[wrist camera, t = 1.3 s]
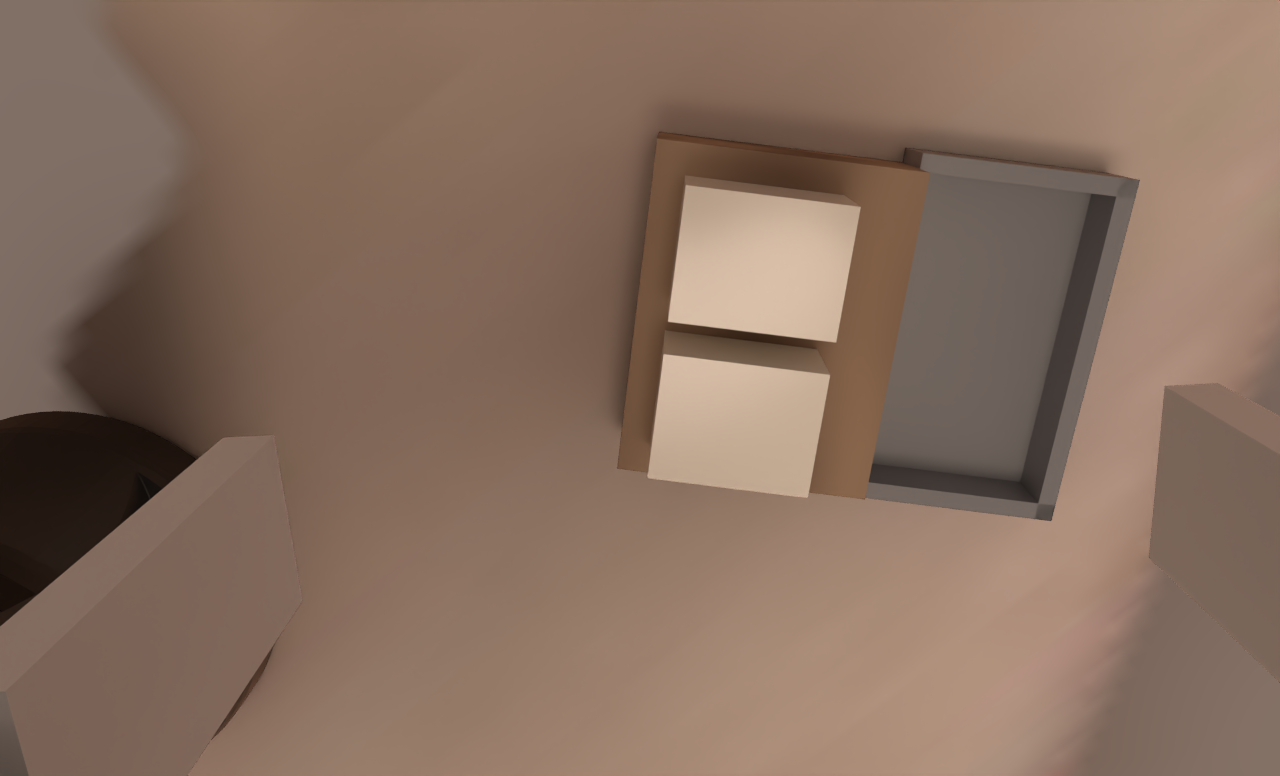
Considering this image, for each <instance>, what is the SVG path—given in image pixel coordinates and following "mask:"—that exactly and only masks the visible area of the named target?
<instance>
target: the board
mask: <svg viewBox="0 0 1280 776" xmlns="http://www.w3.org/2000/svg"><path fill="white" fill-rule="evenodd" d="M685 175H686V176H694V177H702V178H710V179H718V180H726V181H734V182H742V183H750V184H758V185H766V186H774V187H782V188H790V189H798V190H806V191H814V192H822V193H830V194H838V195H845V196H846V197H847V198H849V199H850V200H852V201H853V202H855V203H856V204H857V205H859V206H860V207H861V209H860V214H859V220H858V225H857V231H856V236H855V242H854V247H853V253H852V258H851V264H850V269H849V275H848V280H847V286H846V291H845V297H844V302H843V308H842V313H841V319H840V324H839V330H838V335H837V341H836V343H835V342H827V341H819V340H811V339H803V338H795V337H787V336H779V335H771V334H763V333H755V332H747V331H739V330H731V329H723V328H715V327H707V326H698V325H690V324H682V323H674V322H668V306H669V295H670V287H671V279H672V271H673V264H674V256H675V248H676V241H677V233H678V225H679V218H680V210H681V202H682V195H683V187H684V179H685ZM929 177H930V172H927V171H924V170H922V169H919V168H916V167H914V166H911V165H908V164H906V163H903V162H895V161H887V160H879V159H871V158H863V157H855V156H847V155H839V154H831V153H823V152H815V151H807V150H799V149H791V148H783V147H775V146H767V145H759V144H751V143H743V142H735V141H727V140H719V139H711V138H703V137H695V136H687V135H679V134H671V133H663V132H659V135H658V137H657V144H656V152H655V160H654V169H653V177H652V185H651V193H650V202H649V210H648V218H647V226H646V235H645V243H644V251H643V259H642V268H641V276H640V284H639V293H638V301H637V309H636V317H635V326H634V334H633V342H632V350H631V359H630V367H629V375H628V383H627V392H626V400H625V408H624V417H623V425H622V433H621V441H620V450H619V458H618V466H617V469H625V470H633V471H641V472H648V464H649V451H650V440H651V433H652V425H653V417H654V410H655V402H656V394H657V387H658V379H659V371H660V364H661V356H662V348H663V341H664V333H665V330H666V331H674V332H682V333H690V334H698V335H706V336H714V337H722V338H730V339H738V340H746V341H754V342H763V343H771V344H779V345H787V346H795V347H803V348H811V349H817V350H818V352H819V354H820V356H821V358H822V360H823V362H824V364H825V366H826V368H827V370H828V372H829V373H830V379H829V385H828V390H827V396H826V401H825V407H824V412H823V418H822V423H821V429H820V434H819V440H818V445H817V451H816V456H815V462H814V467H813V473H812V478H811V484H810V489H809V492H810V493H818V494H826V495H834V496H842V497H850V498H858V499H865V497H866V492H867V487H868V482H869V477H870V472H871V467H872V462H873V457H874V452H875V447H876V442H877V437H878V432H879V427H880V422H881V417H882V412H883V407H884V402H885V397H886V392H887V387H888V382H889V377H890V372H891V367H892V362H893V357H894V352H895V347H896V342H897V337H898V332H899V327H900V322H901V317H902V312H903V307H904V302H905V297H906V292H907V287H908V282H909V277H910V272H911V267H912V262H913V257H914V252H915V247H916V242H917V237H918V232H919V227H920V222H921V217H922V212H923V207H924V202H925V197H926V192H927V187H928V182H929Z"/></svg>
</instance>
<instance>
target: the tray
mask: <svg viewBox="0 0 1280 776" xmlns="http://www.w3.org/2000/svg"><path fill="white" fill-rule="evenodd" d="M903 163H906V164H908V165H911V166H914V167H916V168H919V169H922V170H924V171H927V172H930V177H929V182H928V187H927V192H926V197H925V202H924V207H923V212H922V217H921V222H920V227H919V232H918V237H917V242H916V247H915V252H914V257H913V262H912V267H911V272H910V277H909V282H908V287H907V292H906V297H905V302H904V307H903V312H902V317H901V322H900V327H899V332H898V337H897V342H896V347H895V352H894V357H893V362H892V367H891V372H890V377H889V382H888V387H887V392H886V397H885V402H884V407H883V412H882V417H881V422H880V427H879V432H878V437H877V442H876V447H875V452H874V457H873V462H872V467H871V472H870V477H869V482H868V487H867V492H866V497H865V498H870V499H878V500H886V501H894V502H902V503H910V504H918V505H926V506H934V507H942V508H950V509H958V510H966V511H974V512H982V513H990V514H998V515H1006V516H1015V517H1023V518H1031V519H1039V520H1047V521H1051V520H1052V516H1053V512H1054V508H1055V504H1056V501H1057V497H1058V493H1059V489H1060V485H1061V481H1062V477H1063V474H1064V470H1065V466H1066V462H1067V458H1068V454H1069V451H1070V447H1071V443H1072V439H1073V435H1074V431H1075V427H1076V424H1077V420H1078V416H1079V412H1080V408H1081V404H1082V401H1083V397H1084V393H1085V389H1086V385H1087V381H1088V377H1089V374H1090V370H1091V366H1092V362H1093V358H1094V354H1095V351H1096V347H1097V343H1098V339H1099V335H1100V331H1101V327H1102V324H1103V320H1104V316H1105V312H1106V308H1107V304H1108V301H1109V297H1110V293H1111V289H1112V285H1113V281H1114V277H1115V274H1116V270H1117V266H1118V262H1119V258H1120V254H1121V251H1122V247H1123V243H1124V239H1125V235H1126V231H1127V227H1128V224H1129V220H1130V216H1131V212H1132V208H1133V204H1134V201H1135V197H1136V193H1137V189H1138V185H1139V181H1140V180H1137V179H1132V178H1128V177H1123V176H1119V175H1114V174H1110V173H1104V172H1096V171H1088V170H1080V169H1072V168H1064V167H1056V166H1048V165H1040V164H1032V163H1024V162H1016V161H1008V160H1000V159H992V158H984V157H976V156H968V155H960V154H952V153H944V152H936V151H928V150H920V149H912V148H906V149H905V154H904V160H903Z"/></svg>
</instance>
